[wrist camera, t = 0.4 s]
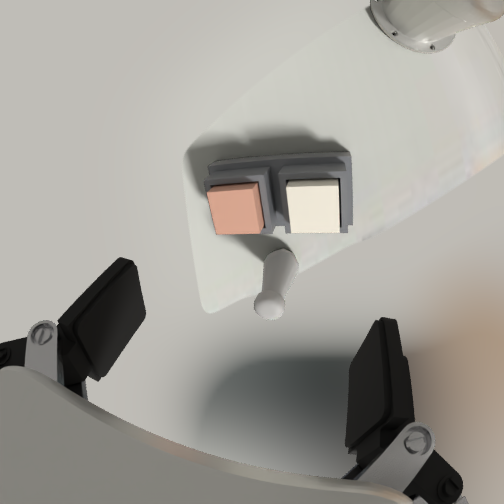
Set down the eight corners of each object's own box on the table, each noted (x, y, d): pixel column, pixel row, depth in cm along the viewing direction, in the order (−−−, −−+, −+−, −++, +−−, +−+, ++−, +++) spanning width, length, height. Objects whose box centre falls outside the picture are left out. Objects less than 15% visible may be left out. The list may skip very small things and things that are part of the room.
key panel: (349, 151, 35) (353, 163, 30) (351, 216, 40) (354, 239, 35) (215, 161, 41) (196, 174, 36) (227, 219, 46) (211, 240, 41)
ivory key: (337, 176, 32) (338, 185, 30) (339, 220, 36) (339, 232, 33) (290, 178, 34) (285, 187, 31) (294, 220, 37) (291, 233, 34)
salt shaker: (261, 249, 48) (239, 300, 37) (291, 239, 45) (277, 291, 35) (275, 275, 50) (258, 329, 40) (305, 267, 48) (295, 322, 37)
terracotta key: (259, 179, 35) (252, 189, 33) (265, 221, 38) (259, 233, 36) (216, 183, 37) (206, 192, 34) (225, 222, 40) (216, 234, 37)
